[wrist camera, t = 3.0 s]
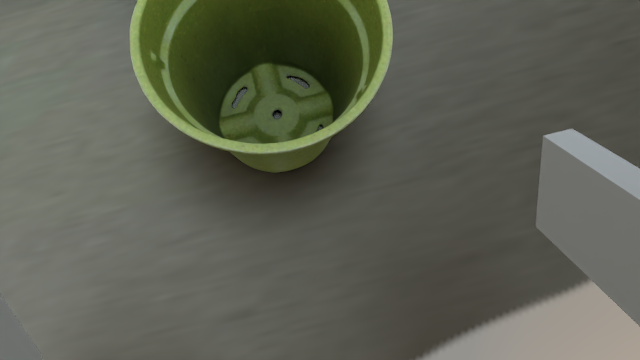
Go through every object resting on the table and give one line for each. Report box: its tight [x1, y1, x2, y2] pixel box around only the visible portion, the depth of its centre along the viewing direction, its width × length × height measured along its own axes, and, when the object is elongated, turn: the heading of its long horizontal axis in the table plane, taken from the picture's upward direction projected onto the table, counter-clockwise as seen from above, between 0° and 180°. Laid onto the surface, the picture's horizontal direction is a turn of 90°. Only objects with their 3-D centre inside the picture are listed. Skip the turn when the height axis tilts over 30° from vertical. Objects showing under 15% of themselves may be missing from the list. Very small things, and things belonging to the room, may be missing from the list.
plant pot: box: [130, 0, 393, 172], centre depth 21 cm, size 9×9×9 cm
